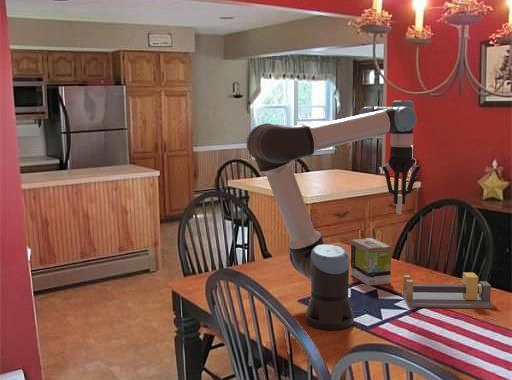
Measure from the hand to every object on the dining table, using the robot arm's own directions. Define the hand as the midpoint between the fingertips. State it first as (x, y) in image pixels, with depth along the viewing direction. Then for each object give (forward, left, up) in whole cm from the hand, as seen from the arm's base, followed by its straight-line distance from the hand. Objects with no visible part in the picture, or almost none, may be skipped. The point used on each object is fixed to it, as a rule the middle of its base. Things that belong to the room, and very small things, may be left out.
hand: (398, 213), depth 188 cm
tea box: (+17, +7, -30) cm, 35 cm away
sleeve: (-6, -23, -28) cm, 37 cm away
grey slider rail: (-6, -16, -30) cm, 34 cm away
